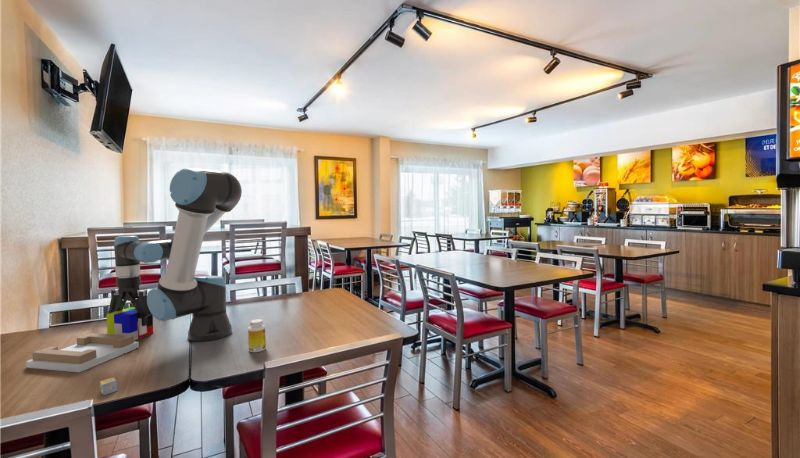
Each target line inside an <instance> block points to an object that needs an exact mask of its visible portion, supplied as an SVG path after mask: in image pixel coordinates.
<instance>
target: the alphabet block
mask: <svg viewBox="0 0 800 458" xmlns="http://www.w3.org/2000/svg"><path fill="white" fill-rule="evenodd" d="M99 384H100V385H99V387H100V392H101V394H102V395H103V396H105V395H109V394H111V393H115V392H117V391H118V385H117V380H116V378H115V377H109V378H107V379H104V380H100V381H99Z"/></svg>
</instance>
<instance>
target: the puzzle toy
mask: <svg viewBox="0 0 800 458" xmlns="http://www.w3.org/2000/svg"><path fill="white" fill-rule="evenodd" d="M139 317H140V316H139V314H138V312H137V310H136V308H135V307H134V306H129V307H128V308H123V310H120V311H116V312H112V313H109V314H108V313H106V330H107V333H106V334H113V335H128V336H134V341H136V340H139V339H141V338H144V337H147V336H149V335H152V334H154V318H153V317H154V316H153V315H149V316H148V317H147V323H148V324H147V333H145V334H143V335H139V325H138V318H139Z"/></svg>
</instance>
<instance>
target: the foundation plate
mask: <svg viewBox="0 0 800 458" xmlns="http://www.w3.org/2000/svg"><path fill="white" fill-rule="evenodd" d="M136 348H137V349H138V348H139V349H140V342H139V341H135V340H134V336H128V335H113V334H107V333H97V332H91V333H88V334H85V335H81V336H77V337H76V344H72V345H70V346H67V347H64V348H60V349H59V347H58V346H52V345H50V346H47V347H44V348H42V349H39V350H36V351H32V353H31V354H32V358H31V359H28V360H26V362H25V363H26V368H27V369H38V370H48V371H49V370H50V371H59V372H61V371H62V372H73V373H81V372H82V373H83V372H84V371H86V370H88V369H91V368H93V367H95V366H98V365H100V364H103V363H105V362H107V361H110V360H113V359H115V358H117V357H119V356H123V355H124V353H125V354H127V353H129V352H131V351H134V350H136Z"/></svg>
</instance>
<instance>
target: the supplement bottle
mask: <svg viewBox="0 0 800 458" xmlns="http://www.w3.org/2000/svg"><path fill="white" fill-rule="evenodd" d="M247 340H248V341H247V344H248V351H249V352H250V353H258V352H263V351H265V349H266V345H267V344H266V343H267V342H266V326H265V325H264V322H263V319H262V318H260V319H259V318H258V319H257V318H256V319H252V320H250V326H248V327H247Z"/></svg>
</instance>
